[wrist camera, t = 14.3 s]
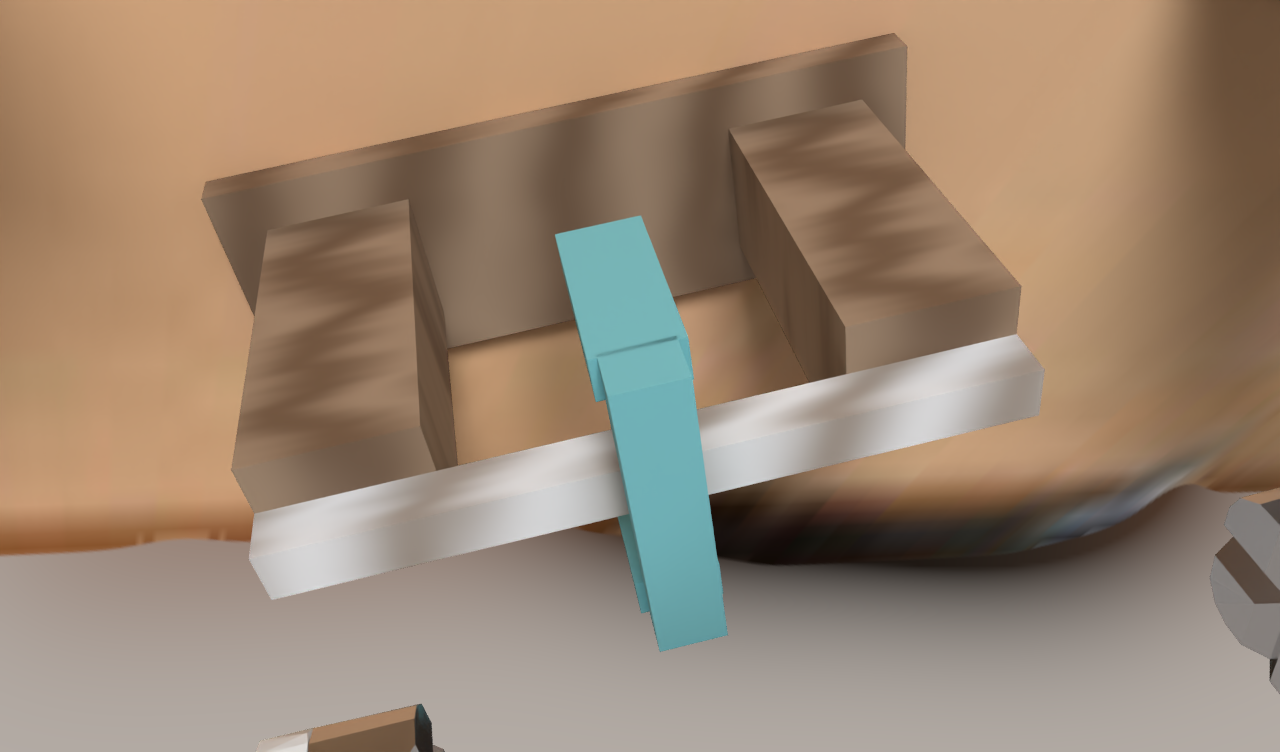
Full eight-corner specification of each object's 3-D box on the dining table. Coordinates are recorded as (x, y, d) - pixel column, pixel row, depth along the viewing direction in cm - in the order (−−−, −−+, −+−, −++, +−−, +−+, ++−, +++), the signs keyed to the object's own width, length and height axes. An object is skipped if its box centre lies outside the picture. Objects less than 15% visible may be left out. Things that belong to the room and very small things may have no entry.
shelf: (893, 33, 47) (1119, 253, 33) (892, 228, 54) (1081, 484, 39) (205, 181, 45) (128, 483, 31) (287, 366, 52) (254, 687, 37)
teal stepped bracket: (640, 215, 37) (702, 374, 30) (679, 459, 44) (736, 632, 37) (554, 234, 37) (597, 398, 30) (607, 476, 44) (651, 654, 37)
